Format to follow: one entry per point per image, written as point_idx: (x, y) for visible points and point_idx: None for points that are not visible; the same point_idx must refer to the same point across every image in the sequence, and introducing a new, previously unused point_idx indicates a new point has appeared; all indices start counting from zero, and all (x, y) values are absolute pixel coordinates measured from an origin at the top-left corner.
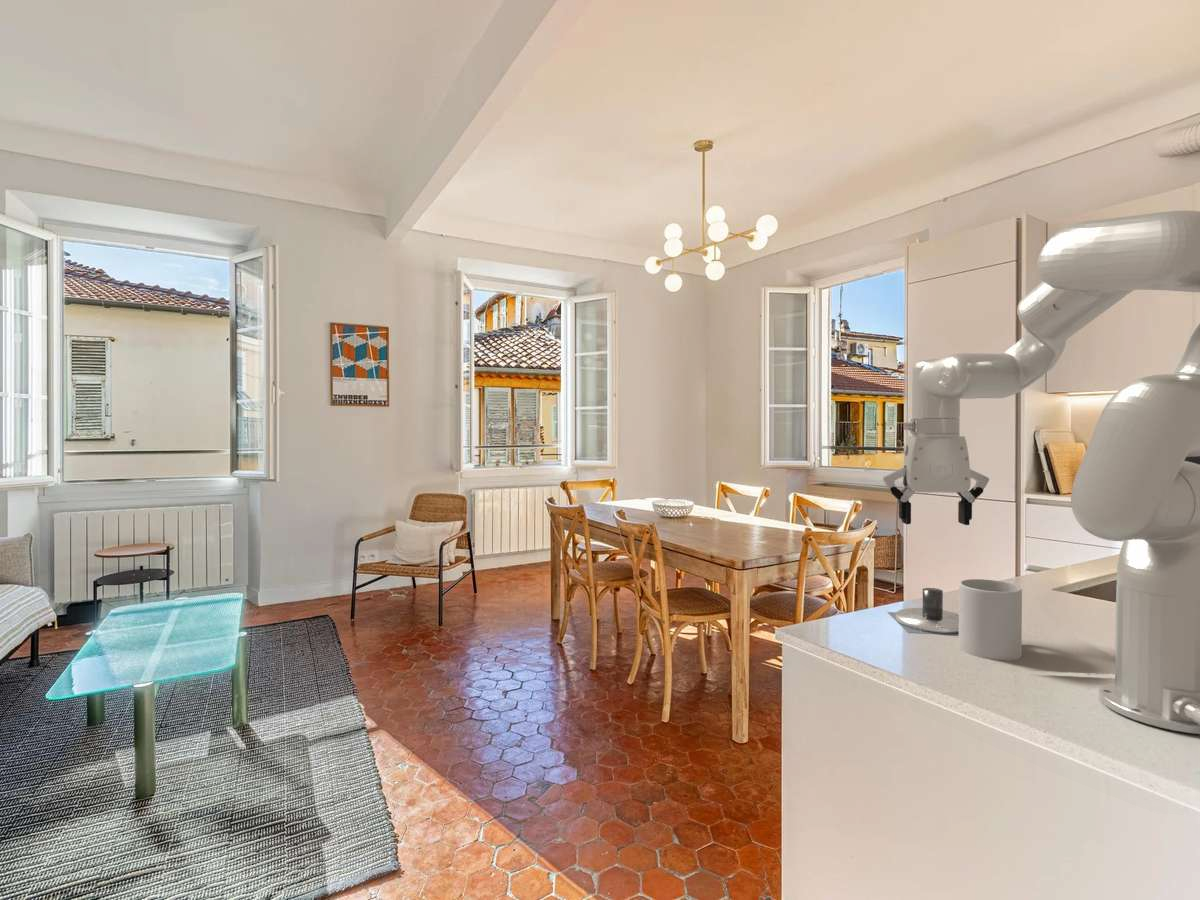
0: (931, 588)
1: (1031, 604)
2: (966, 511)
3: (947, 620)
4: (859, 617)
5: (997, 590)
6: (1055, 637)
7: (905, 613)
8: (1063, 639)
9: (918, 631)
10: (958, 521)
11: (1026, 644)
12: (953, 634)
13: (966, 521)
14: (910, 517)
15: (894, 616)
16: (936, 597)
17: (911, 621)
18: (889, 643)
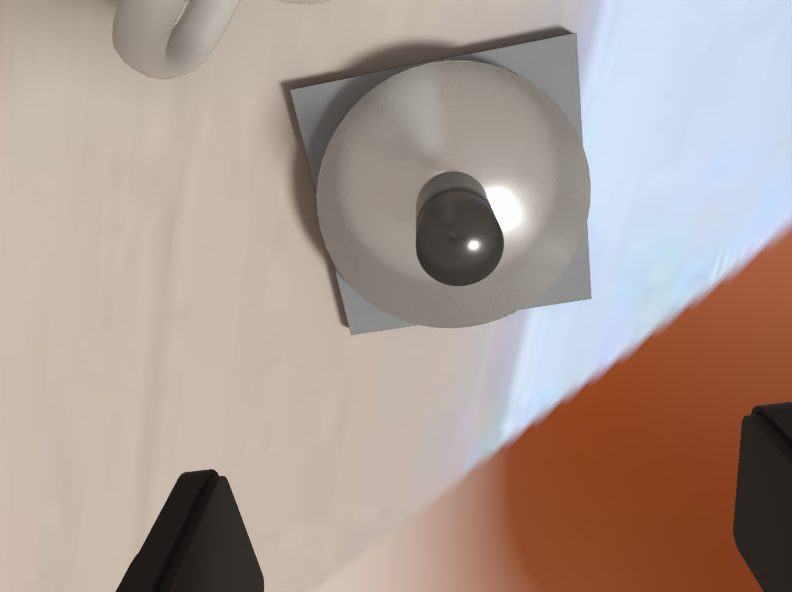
0: (458, 276)
1: (102, 523)
2: (157, 574)
3: (402, 182)
4: (704, 238)
5: None
6: (56, 187)
7: (546, 235)
8: (33, 171)
9: (530, 63)
10: (263, 586)
11: None
12: (399, 68)
13: (198, 487)
14: (789, 454)
15: (577, 248)
16: (449, 196)
17: (549, 124)
18: None
